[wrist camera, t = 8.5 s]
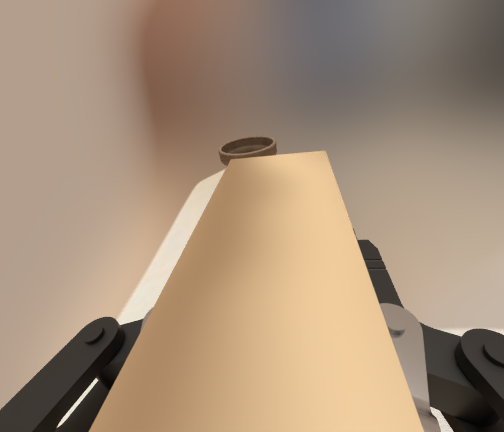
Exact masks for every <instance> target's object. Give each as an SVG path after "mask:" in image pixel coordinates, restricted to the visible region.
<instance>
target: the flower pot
mask: <svg viewBox="0 0 504 432" xmlns="http://www.w3.org/2000/svg"><path fill="white" fill-rule="evenodd" d="M276 152H277V149H276V141H275V139H273V138H271V137H266V136H252V137H244V138H239V139H235V140H232V141H229V142H227V143H225V144H223V145H222V146H221V147H220V148H219V155H220V159H221V162H222V163H223V164H225V165H227V166H228V164H229V162H230V160H231V159H240V158H251V157H262V156H273V155H276Z"/></svg>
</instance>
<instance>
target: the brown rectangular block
mask: <svg viewBox="0 0 504 432" xmlns="http://www.w3.org/2000/svg"><path fill="white" fill-rule="evenodd" d="M89 432H424V430H423V427H422V424H421V421H420V419H419V416H418V413H417V410H416V407H415V404H414V401H413V399H412V396H411V393H410V390H409V387H408V384H407V382H406V379H405V376H404V373H403V370H402V367H401V364H400V362H399V359H398V356H397V353H396V350H395V347H394V345H393V342H392V339H391V336H390V333H389V330H388V327H387V325H386V322H385V319H384V316H383V313H382V310H381V308H380V305H379V302H378V299H377V296H376V293H375V290H374V288H373V285H372V282H371V279H370V276H369V273H368V271H367V268H366V265H365V262H364V259H363V256H362V253H361V251H360V248H359V245H358V242H357V239H356V236H355V234H354V231H353V228H352V225H351V222H350V219H349V216H348V214H347V211H346V208H345V205H344V202H343V199H342V197H341V194H340V191H339V188H338V185H337V182H336V180H335V177H334V174H333V171H332V168H331V165H330V162H329V160H328V157H327V154H326V152H325V151H317V152H306V153H296V154H284V155H273V156H262V157H251V158H240V159H231V160H230V162H229V164H228V166H227V168H226V170H225V172H224V174H223V176H222V177H221V179H220V181H219V183H218V185H217V187H216V189H215V191H214V193H213V195H212V197H211V198H210V200H209V202H208V204H207V206H206V208H205V210H204V212H203V214H202V216H201V218H200V220H199V221H198V223H197V225H196V227H195V229H194V231H193V233H192V235H191V237H190V239H189V241H188V243H187V244H186V246H185V248H184V250H183V252H182V254H181V256H180V258H179V260H178V262H177V264H176V266H175V267H174V269H173V271H172V273H171V275H170V277H169V279H168V281H167V283H166V285H165V287H164V288H163V290H162V292H161V294H160V296H159V298H158V300H157V302H156V304H155V306H154V308H153V310H152V311H151V313H150V315H149V317H148V319H147V321H146V323H145V325H144V327H143V329H142V331H141V333H140V334H139V336H138V338H137V340H136V342H135V344H134V346H133V348H132V350H131V352H130V354H129V356H128V357H127V359H126V361H125V363H124V365H123V367H122V369H121V371H120V373H119V375H118V377H117V379H116V380H115V382H114V384H113V386H112V388H111V390H110V392H109V394H108V396H107V398H106V400H105V401H104V403H103V405H102V407H101V409H100V411H99V413H98V415H97V417H96V419H95V421H94V423H93V424H92V426H91V428H90V430H89Z"/></svg>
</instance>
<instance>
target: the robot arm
mask: <svg viewBox="0 0 504 432" xmlns="http://www.w3.org/2000/svg"><path fill="white" fill-rule="evenodd" d="M353 231H354V229H353ZM354 234H355V232H354ZM355 236H356V235H355ZM356 239H357V237H356ZM357 242H358V245H359V248H360V251H361V253H362V256H363V259H364V262H365V265H366V268H367V271H368V273H369V276H370V279H371V282H372V285H373V288H374V290H375V293H376V296H377V299H378V302H379V305H380V308H381V310H382V313H383V316H384V319H385V322H386V325H387V327H388V330H389V333H390V336H391V339H392V342H393V345H394V347H395V350H396V353H397V356H398V359H399V362H400V364H401V367H402V370H403V373H404V376H405V379H406V382H407V384H408V387H409V390H410V393H411V396H412V399H413V401H414V404H415V407H416V410H417V413H418V416H419V419H420V421H421V424H422V427H423V430H424V432H441V431H440V427H439V423H438V421H437V418H436V417H435V416H433V415H432V413H431V410H430V407H433V408H435V409H438V410H440V412H441V413H442V415H443V416H444V418H445V419H446V421H447V422H448V424H449V425H450V427H451V428H452V430H453V431H454V432H504V335H502V334H500V333H497V332H494V331H491V330H487V329H471V330H469V331H467V332H465V333H464V334H463V336H462V337H461V336H457V335H454V334H451V333H447V332H444V331H440V330H437V329H434V328H431V327H428V326H426V325H424V324H422V323H420V322H418V320H417V319H416V317H415V316H414V315H413V314H411V313H410V312H409V311H407V310H406V309H404V307H403V306H402V304H401V301H400V299H399V297H398V295H397V292H396V290H395V288H394V285H393V283H392V281H391V278H390V276H389V274H388V272H387V270H386V267H385V265H384V262H383V261H382V258H381V256H380V253H379V251H378V249H377V248H376V247H375V246H374V245H373V244H372V243H371V242H370V241H369V240H357ZM153 308H154V307H153ZM153 308H152V309H151V310H150V311H149V312H148V313H147V314H146V316H145V317H144V319H141V320H138V321H134V322H130V323H127V324H123V325H119V323H118V322H117V321H116V320H115V319H114V318H112V317H103V318H99V319H97V320H94V321H93V322H91V323H89V324H88V325H86V326H85V327H84V328H83V329H82V330H81V331H80V332H79V333H78V334H77V335H76V336H75V337H74V338H73V339H72V340H71V341H70V342H69V343H68V344H67V345H66V346H65V347H64V348H63V349H62V350H61V351H60V352H59V353H57V355H55V357H53V359H51V361H49V362H48V363H47V364H46V365H45V366H44V367H43V369H41V370H40V371H39V372H38V373H37V374H36V375H35V376H34V377H33V378H32V379H31V380H30V381H29V382H28V383H27V384H26V385H25V386H24V387H23V388H22V389H21V390H20V391H19V392H18V393H17V394H16V395H15V396H14V397H13V398H12V399H11V400H10V401H9V402H8V403H7V404H6V405H5V406H4V407H3V408H2V409H1V410H0V432H89V430H90V428H91V426H92V424H93V423H94V421H95V419H96V417H97V415H98V413H99V411H100V409H101V407H102V405H103V403H104V401H105V400H106V398H107V396H108V394H109V392H110V390H111V388H112V386H113V384H114V382H115V380H116V379H117V377H118V375H119V373H120V371H121V369H122V367H123V365H124V363H125V361H126V359H127V357H128V356H129V354H130V352H131V350H132V348H133V346H134V344H135V342H136V340H137V338H138V336H139V334H140V333H141V331H142V329H143V327H144V325H145V323H146V321H147V319H148V317H149V315H150V313H151V311H152V310H153ZM95 378H97V379H98V380H99V381H98V382H97V383H96V384H95V385H94V387H93V388H92V389H91V390H90V392H89V393H88V394H87V395H86V396H85V398H84V399H83V400H82V401H81V403H80V404H79V405H78V406H77V407H76V409H75V410H74V411H73V412H72V414H71V415H70V416H69V417H68V419H67V420H66V421H65V422H64V423H63V424H62V425H61V426H59V427H58V428H57V426H58V424H59V422H60V421H61V419H62V418H63V417H64V416H65V414H66V413H67V412H68V411H69V410H70V408H71V407H72V406H73V405H74V403H75V402H76V401H77V400H78V399H79V397H80V396H81V395H82V394H83V393H84V391H85V390H86V389H87V388H88V387H89V385H90V384H91V383H92V382H93V381H94V379H95Z"/></svg>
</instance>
